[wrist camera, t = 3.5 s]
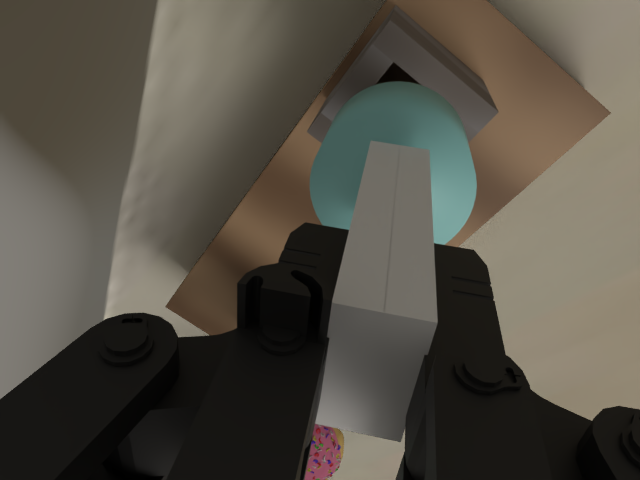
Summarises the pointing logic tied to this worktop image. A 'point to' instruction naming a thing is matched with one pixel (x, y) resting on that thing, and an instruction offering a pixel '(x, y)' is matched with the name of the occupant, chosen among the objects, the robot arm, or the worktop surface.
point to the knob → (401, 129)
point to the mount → (427, 70)
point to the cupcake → (324, 452)
